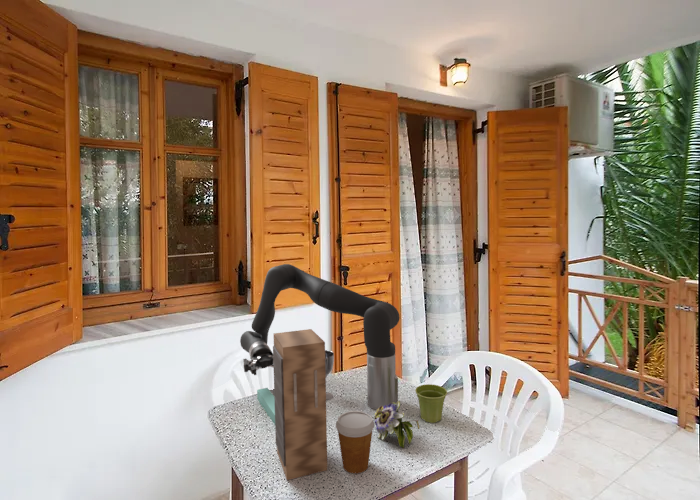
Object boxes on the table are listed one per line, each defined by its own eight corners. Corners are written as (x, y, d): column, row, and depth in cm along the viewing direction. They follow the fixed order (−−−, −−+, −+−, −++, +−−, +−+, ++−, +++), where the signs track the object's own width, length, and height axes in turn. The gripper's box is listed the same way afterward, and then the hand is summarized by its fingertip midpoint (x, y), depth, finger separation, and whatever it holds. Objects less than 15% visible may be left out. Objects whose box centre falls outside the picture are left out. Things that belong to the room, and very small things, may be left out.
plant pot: (447, 427, 117) (447, 398, 116) (414, 424, 119) (414, 396, 118) (446, 412, 126) (446, 385, 125) (416, 409, 128) (416, 383, 127)
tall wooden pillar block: (313, 444, 109) (311, 329, 107) (327, 471, 98) (325, 342, 95) (275, 452, 106) (271, 333, 103) (285, 481, 94) (281, 348, 91)
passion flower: (381, 456, 112) (363, 414, 117) (413, 440, 117) (395, 400, 121) (394, 453, 103) (375, 407, 108) (429, 436, 107) (409, 392, 112)
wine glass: (339, 394, 140) (338, 352, 138) (325, 403, 133) (324, 359, 132) (320, 389, 144) (319, 348, 143) (306, 398, 137) (305, 355, 136)
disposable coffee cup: (335, 455, 104) (334, 411, 103) (371, 453, 105) (371, 409, 104) (337, 479, 95) (336, 430, 94) (377, 476, 95) (377, 428, 94)
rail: (267, 397, 139) (267, 387, 139) (291, 429, 118) (290, 418, 117) (257, 400, 137) (257, 389, 137) (279, 433, 116) (279, 421, 116)
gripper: (240, 346, 143) (245, 362, 128) (280, 341, 148) (290, 356, 133) (240, 367, 143) (246, 385, 128) (280, 361, 149) (290, 378, 134)
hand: (268, 370), depth 131 cm, fingers open, 8 cm apart
